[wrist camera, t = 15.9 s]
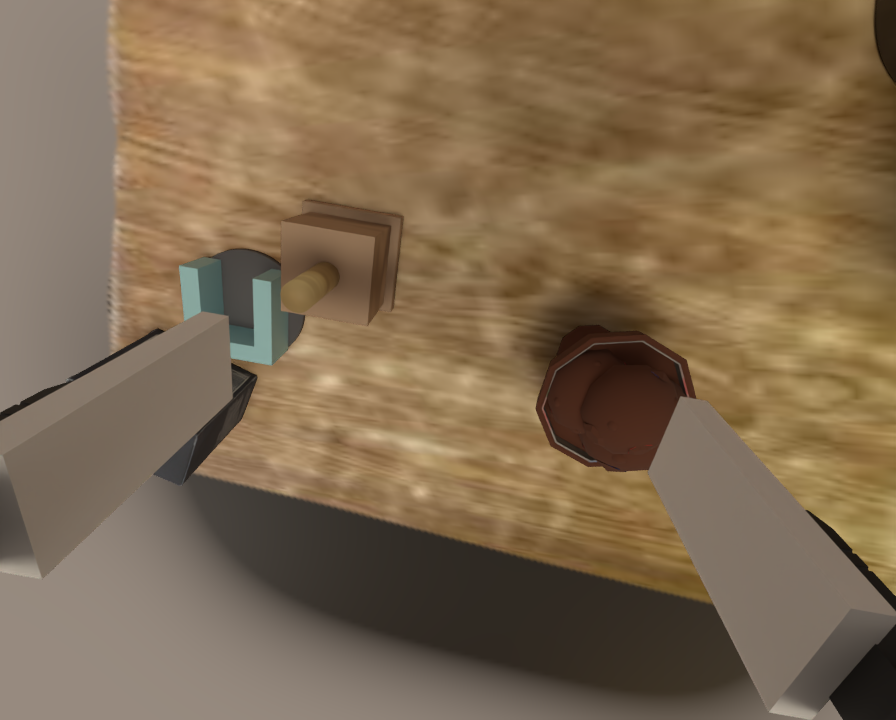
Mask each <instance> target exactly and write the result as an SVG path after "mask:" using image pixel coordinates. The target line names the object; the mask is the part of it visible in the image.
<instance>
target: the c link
mask: <svg viewBox="0 0 896 720" xmlns="http://www.w3.org/2000/svg"><path fill="white" fill-rule="evenodd" d="M179 270H180V280H181V291H182V301H183V312H184V321H186V320H187V319H189V318H191V317H193V316H195V315H197V314H198V313H200V312H202V311H204V312H209V313H215V314H220V315H224V305H223V287H222V270H221V260H219V259H213V258H207V257H202V258H200V259H197V260H194V261H191V262H188V263H185V264H183V265H180V266H179ZM280 294H281V270H276V269H270V270H268V271H266V272H264V273H263V274H261V275H259V276H257V277H255V278H253V311H254V329H251V328H245V327H240V326H234V325H229V334H230V354H231V358H233V359H238V360H244V361H250V362H255V363H261V364H267V365H273V364H274V363H275V362H276V361H277V360H278V359H279V358H280V357H281V356H282V355H283V354H284V353H285V352H286V351H287V350H288V312H285V311H281V295H280Z"/></svg>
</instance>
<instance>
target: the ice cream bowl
mask: <svg viewBox="0 0 896 720" xmlns="http://www.w3.org/2000/svg"><path fill="white" fill-rule="evenodd" d="M680 396H682V397H687V398H693V399H696V395H695V391H694V387H693V384H692V380H691V376H690V372H689V368H688V364H687V360H686V359H684V358H682V357H681V356H679V355H678V354H676V353H674V352H673V351H671V350H670V349H668V348H666V347H665V346H663V345H662V344H660V343H658V342H657V341H655V340H654V339H652V338H650V337H649V336H647V335H645V334H643V333H641V332H639V331H626V332H610V331H608V330H606V329H605V328H603V327H602V326H600V325H590V326H578V327H577V328H576V329H574V330H573V331H572V332H570V333H569V334H567V335H566V336H565V337H563V338H562V341H561V344H560V347H559V350H558V353H557V357H555V358H554V359H553V360H551V362H550V365H549V367H548V370H547V373H546V376H545V379H544V382H543V385H542V387H541V390H540V393H539V396H538V399H537V404H536V411H537V414H538V416H539V419H540V421H541V424H542V426H543V428H544V431H545V433H546V436H547V438H548V441H549V443H550V445H551V446H552V447H553V448H555V449H557V450H559V451H561V452H562V453H564V454H566V455H568V456H570V457H571V458H573V459H575V460H577V461H579V462H580V463H582V464H584V465H586V466H587V467H598V466H603V467H604V468H605V469H606V470H607V471H616V472H626V471H637V470H649V468H650V466H651V464H652V461H653V459H654V457H655V455H656V452H657V450H658V448H659V445H660V443H661V441H662V438H663V436H664V434H665V431H666V429H667V427H668V424H669V422H670V420H671V417H672V415H673V413H674V410H675V408H676V406H677V403H678V401H679V399H680Z"/></svg>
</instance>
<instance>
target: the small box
mask: <svg viewBox="0 0 896 720" xmlns="http://www.w3.org/2000/svg"><path fill="white" fill-rule="evenodd" d="M162 333H163V331H161V330H159V329H156V330H153V331H151V332H150V333H149V334H148V335H146V336H144V337H143V338H141V339H139V340H137V341H135V342H134V343H132V344H130V345H128V346H126V347H125V348H123V349H121V350H119V351H117V352H116V353H114V354H112V355H110V356H109V357H107V358H105V359H104V360H102V361H100V362H98V363H96V364H95V365H93V366H91V367H89V368H87V369H86V370H84V371H82V372H80V373H79V374H76V375H74V376H71V377H69V378H68V379H66V383H67V382H70V381H73V380H77V379H79V378H81V377H82V376H84V375H86V374H88V373H90V372H92V371H93V370H95V369H97V368H99V367H101V366H103V365H104V364H106V363H108V362H110V361H112V360H114V359H116V358H117V357H119V356H121V355H123V354H125V353H127V352H128V351H130V350H132V349H134V348H136V347H138V346H139V345H141V344H143V343H145V342H147V341H149V340H151V339H152V338H154V337H156V336H158V335H160V334H162ZM231 374H232V393H233V399H232V400H231V401H230V402H229V403H228V404H226V405H225V406H224V407H223V408H222V409H221V410H220V411H219V412H218V413H217V414H216V415H215V416H214V417H213V418H212V419H211V420H210V421H209V422H207V423H206V424H205V425H204V426H203V427H202V428H201V429H200V430H199V431H198V432H197V433H196V434H195V435H194V436H193V437H192V438H191V439H190V440H189V441H187V442H186V443H185V444H184V445H183V446H182V447H181V448H180V449H179V450H178V451H177V452H176V453H175V454H174V455H173V456H172V457H171V458H170V459H169V460H167V461H166V462H165V463H164V464H163V465H162V466H161V467H160V468H159V469H158V470H157V471H156V472H155V473H154V475H156V476H158V477H161V478H163V479H165V480H168V481H171V482H173V483H175V484H177V485H179V486H181V485H183V483H184V482H185V481H186V480H187V479H188V478H189V476H190V475H191V474H192V473H193V472H194V471H195V470H196V469H197V468H198V466H199V465H200V464H201V463H202V462H203V461H204V460H205V459H206V458H207V457H208V455H209V454H210V453H211V452H212V451H213V450H214V449H215V448H216V447H217V445H218V444H219V443H220V442H221V441H222V440H223V439H224V438H225V437H226V436H227V435H228V434H229V432H230V431H231V430H232V429H233V428H234V427H235V426H236V425H237V424H238V423H239V422H240V421H241V419H242V417H243V414H244V412H245V409H246V406H247V404H248V401H249V399H250V396H251V393H252V391H253V388H254V386H255V383H256V380H257V376H256V375H254V374H252V373H250V372H248V371H246V370H244V369H242V368H239V367H237V366H235V365H233V364H231Z"/></svg>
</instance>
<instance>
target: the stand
mask: <svg viewBox="0 0 896 720" xmlns="http://www.w3.org/2000/svg"><path fill="white" fill-rule="evenodd" d="M403 217H404V216H398V215H393V214H387V213H381V212H376V211H370V210H364V209H359V208H353V207H347V206H341V205H336V204H330V203H324V202H319V201H313V200H305V201H303V207H302V214H301V215H298V216H295V217H292V218H288V219H285V220H282V221H281V294H280V295H281V311H285V312H290V313H296V314H302V315H307V316H313V317H319V318H324V319H330V320H335V321H341V322H347V323H352V324H358V325H364V326H368V325H369V323H370V322H371V320H372V319H373V317H374V316H375V315H376V313H377V312H378V310H381V311H386V312H391V311H392V309H393V306H394V297H395V288H396V279H397V270H398V261H399V252H400V243H401V234H402V225H403Z"/></svg>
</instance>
